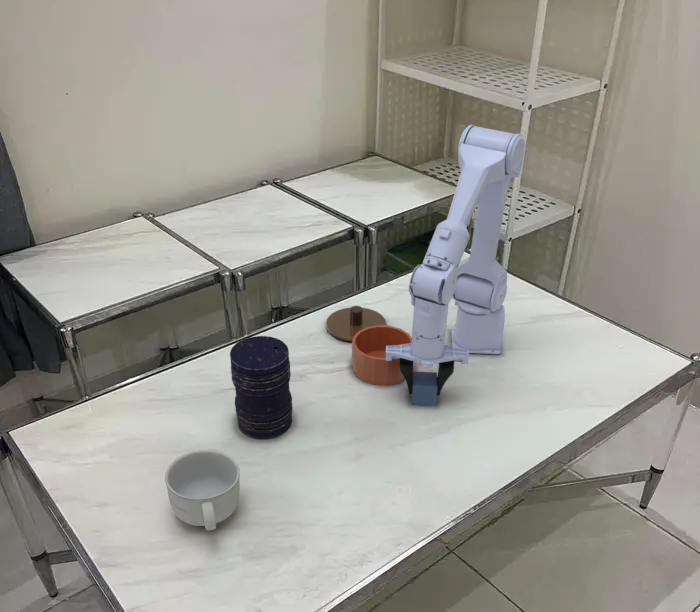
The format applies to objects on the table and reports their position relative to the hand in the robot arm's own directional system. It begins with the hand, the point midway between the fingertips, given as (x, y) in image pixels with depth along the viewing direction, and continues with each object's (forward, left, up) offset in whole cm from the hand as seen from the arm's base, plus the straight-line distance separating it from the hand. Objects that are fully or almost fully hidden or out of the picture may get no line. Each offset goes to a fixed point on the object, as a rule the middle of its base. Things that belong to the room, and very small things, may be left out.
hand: (423, 391), depth 133 cm
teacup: (+33, +32, -2) cm, 46 cm away
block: (0, 0, -1) cm, 1 cm away
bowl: (+8, -9, -1) cm, 12 cm away
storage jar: (+28, +9, -2) cm, 29 cm away
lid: (+14, -23, -1) cm, 27 cm away
